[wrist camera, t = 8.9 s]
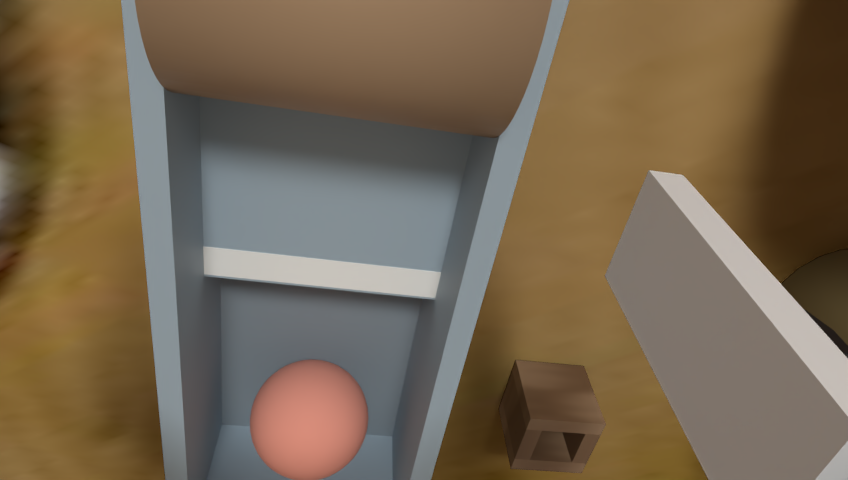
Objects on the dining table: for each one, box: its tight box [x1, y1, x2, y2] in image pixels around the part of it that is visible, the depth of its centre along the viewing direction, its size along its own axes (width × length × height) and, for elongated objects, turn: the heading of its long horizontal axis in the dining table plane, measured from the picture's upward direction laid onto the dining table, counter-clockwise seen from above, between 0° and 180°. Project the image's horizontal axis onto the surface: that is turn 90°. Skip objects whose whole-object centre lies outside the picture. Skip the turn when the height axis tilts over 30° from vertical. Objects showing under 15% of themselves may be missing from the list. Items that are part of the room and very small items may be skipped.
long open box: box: [121, 0, 569, 480], centre depth 21 cm, size 10×27×8 cm, turn 170°
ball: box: [250, 359, 368, 480], centre depth 26 cm, size 5×5×5 cm
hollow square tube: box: [499, 360, 606, 473], centre depth 28 cm, size 3×3×4 cm
